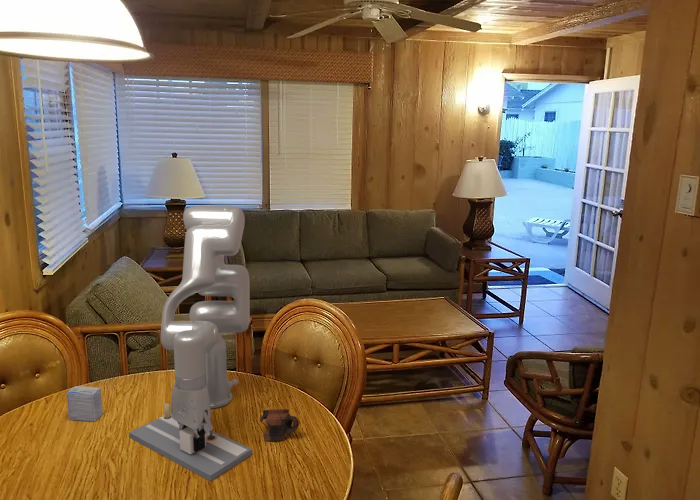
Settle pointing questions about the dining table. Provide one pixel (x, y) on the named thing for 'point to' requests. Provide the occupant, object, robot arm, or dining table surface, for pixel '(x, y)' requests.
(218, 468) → the gauge board
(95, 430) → the dining table surface
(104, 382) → the dining table surface
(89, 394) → the medicine box
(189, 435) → the white block with pointer
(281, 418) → the pottery mug
